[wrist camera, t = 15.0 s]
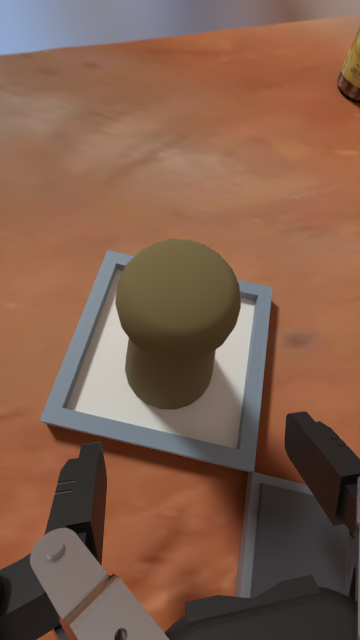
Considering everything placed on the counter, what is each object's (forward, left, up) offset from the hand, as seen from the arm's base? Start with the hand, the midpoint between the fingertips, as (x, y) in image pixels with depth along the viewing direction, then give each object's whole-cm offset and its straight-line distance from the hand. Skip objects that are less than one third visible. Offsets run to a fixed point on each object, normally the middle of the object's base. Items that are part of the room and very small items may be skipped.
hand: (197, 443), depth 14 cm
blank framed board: (-2, +6, -7) cm, 10 cm away
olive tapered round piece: (-2, +5, -7) cm, 9 cm away
